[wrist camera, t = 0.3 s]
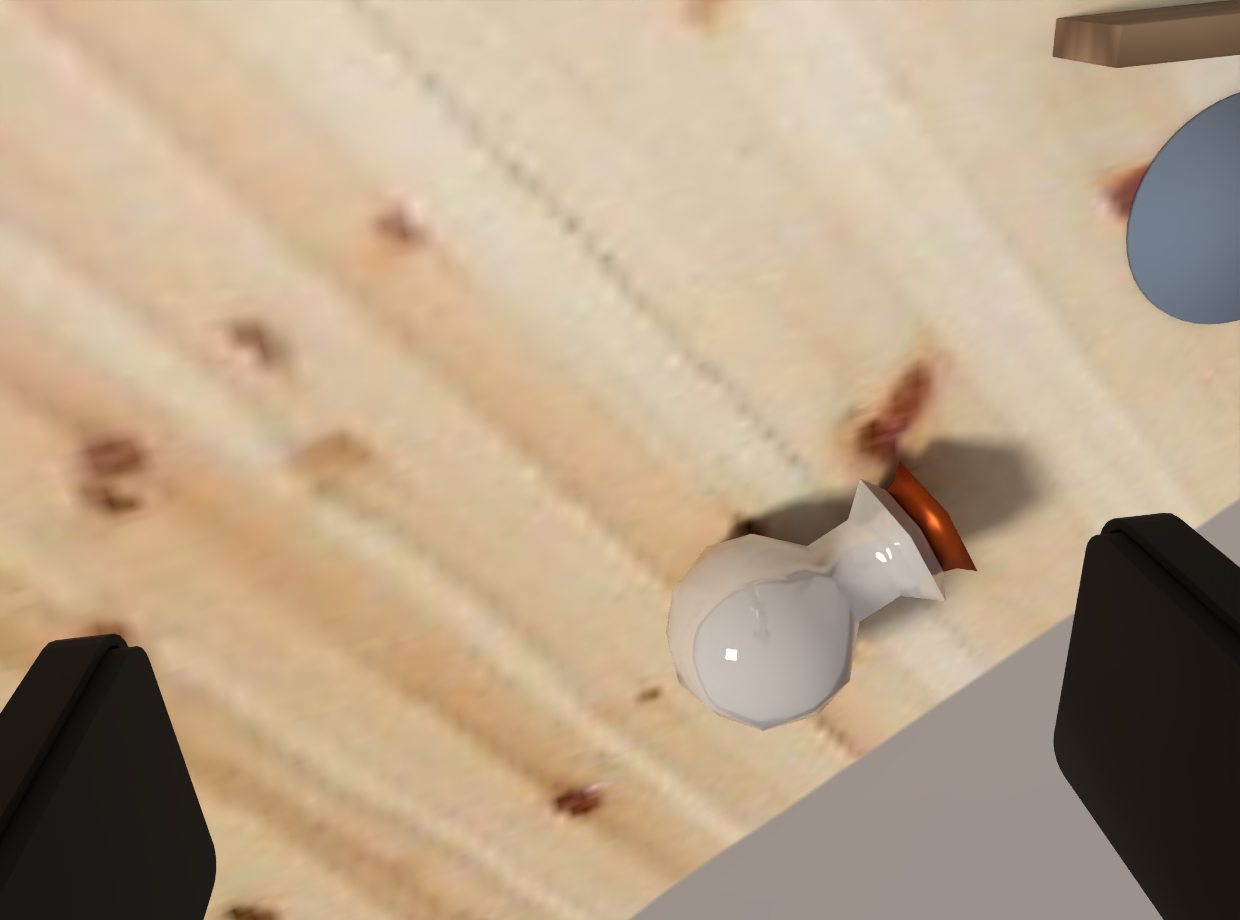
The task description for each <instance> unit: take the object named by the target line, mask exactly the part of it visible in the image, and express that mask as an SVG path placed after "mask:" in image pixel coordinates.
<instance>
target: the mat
mask: <svg viewBox="0 0 1240 920" xmlns="http://www.w3.org/2000/svg"><path fill="white" fill-rule="evenodd" d="M1126 243H1127V256H1128V261H1129V266H1130V269H1131V272H1132V275H1133V277H1134V280H1135V281H1136V283H1137V285H1138V287H1139V289H1140V290H1141V292H1142V293H1143V294H1144V295H1145V297H1146V298H1147V299H1148V300H1149V301H1150V302H1151V303H1152V304H1154V305H1155V306H1156V307H1157V308H1159V309H1160V310H1162V311H1164V312H1165V313H1167V314H1169V315H1171V316H1173V317H1175V318H1178V319H1180V320H1183V321H1188V322H1192V323H1199V324H1221V323H1227V322H1232V321H1237V320H1240V93H1238V94H1235V95H1232V96H1230V97H1227V98H1225V99H1223V100H1221V101H1218V102H1216V103H1215V104H1213V105H1211V106H1210V107H1208V108H1206V109H1205V110H1203V111H1201V112H1200V113H1199V114H1197V115H1196V116H1195V117H1193V118H1192V119H1191V120H1189V121H1188V122H1187V123H1186V124H1185V125H1184V126H1183V127H1181V128H1180V129H1179V130H1178V131H1177V132H1176V133H1175V134H1174V135H1173V136H1172V137H1171V138H1170V139H1169V141H1168V142H1167V143H1166V144H1165V145H1164V146H1163V147H1162V149H1161V150H1160V151H1159V153H1158V154H1157V155H1156V157H1155V158H1154V160H1153V161H1152V162H1151V164H1150V166H1149V168H1148V169H1147V171H1146V173H1145V174H1144V176H1143V178H1142V180H1141V182H1140V185H1139V187H1138V189H1137V191H1136V194H1135V197H1134V200H1133V203H1132V206H1131V209H1130V214H1129V219H1128V224H1127V236H1126Z"/></svg>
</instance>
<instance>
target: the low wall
mask: <svg viewBox="0 0 1240 920" xmlns="http://www.w3.org/2000/svg"><path fill="white" fill-rule="evenodd" d="M1232 55H1240V0H1230V1H1221V2H1211V3H1202V4H1192V5H1183V6H1173V7H1164V8H1154V9H1145V10H1135V11H1126V12H1116V13H1107V14H1097V15H1088V16H1078V17H1069V18H1059V19H1057V20H1056V30H1055V39H1054V49H1053V57H1057V58H1063V59H1069V60H1074V61H1080V62H1085V63H1091V64H1097V65H1102V66H1108V67H1114V68H1121V67H1130V66H1140V65H1149V64H1158V63H1167V62H1176V61H1186V60H1195V59H1204V58H1213V57H1222V56H1232Z"/></svg>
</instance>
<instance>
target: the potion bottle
mask: <svg viewBox="0 0 1240 920" xmlns="http://www.w3.org/2000/svg"><path fill="white" fill-rule="evenodd" d="M956 568H960V569H967V570H974V571H977V569H976V568H975V566H974V564H973V562H972V560H971V558H970V556H969V554H968V552H967V550H966V548H965V546H964V544H963V542H962V540H961V538H960V536H959V534H958V533H957V531H956V529H955V527H954V525H953V523H952V521H951V519H950V517H949V515H948V513H947V512H946V511H945V510H944V509H943V507H942V506H941V505H940V504H939V503H938V502H937V501H936V500H935V499H934V498H933V497H932V496H931V495H930V494H929V492H928V491H927V490H926V489H925V488H924V487H923V486H922V485H921V484H920V483H919V482H918V481H917V480H916V479H915V478H914V476H913V475H912V474H911V473H910V472H909V471H908V470H907V469H906V468H905V467H904V466H903V465H902V464H901V463H899V467H898V470H897V474H896V478H895V480H894V482H893V483H892V484H891V485H890V487H889V488H888V489H887V490H884V489H882V488H880V487H878V486H875V485H873V484H871V483H868V482H866V481H864V480H862V479H860V482H859V485H858V488H857V491H856V495H855V498H854V501H853V505H852V508H851V511H850V515H849V518H848V520H847V521H845V522H844V523H842V524H840V525H839V526H837V527H836V528H834V529H833V530H831V531H830V532H828V533H827V534H825V535H824V536H822V537H821V538H819V539H817V540H816V541H814V542H813V543H811V544H810V545H808V546H806V545H801V544H796V543H792V542H787V541H783V540H778V539H774V538H769V537H764V536H760V535H755V534H749V535H745V536H742V537H739V538H735V539H732V540H728V541H725V542H721V543H718V544H715V545H711V546H708V547H706V549H705V550H704V551H703V552H702V554H701V555H700V556H699V557H698V559H697V560H696V561H695V563H694V564H693V565H692V566H691V568H690V569H689V570H688V571H687V573H686V574H685V575H684V576H683V578H682V579H681V580H680V582H679V583H678V584H677V585H676V587H675V588H674V589H673V590H672V597H671V603H670V609H669V616H668V622H667V628H666V635H667V639H668V643H669V647H670V650H671V654H672V658H673V662H674V666H675V670H676V673H677V677H678V681H679V684H681V685H682V686H683V687H684V688H685V689H686V690H688V691H689V692H690V693H691V694H692V695H693V696H694V697H696V698H697V699H698V700H699V701H700V702H701V703H703V704H704V705H705V706H706V707H707V708H709V709H710V710H712V711H713V712H714V713H716V714H717V715H719V716H721V717H724V718H727V719H730V720H732V721H735V722H738V723H741V724H744V725H747V726H750V727H753V728H756V729H759V730H761V731H765V730H769V729H772V728H776V727H779V726H783V725H786V724H790V723H793V722H797V721H800V720H804V719H807V718H811V717H814V716H818V715H819V714H820V713H821V712H822V710H823V709H824V708H825V707H826V706H827V705H828V704H829V703H830V702H831V701H832V700H833V699H834V697H835V696H836V695H837V694H838V693H839V692H840V691H841V690H842V689H843V688H844V687H845V685H846V684H847V683H848V682H849V681H850V676H851V670H852V664H853V658H854V652H855V646H856V640H857V634H858V628H859V622H861V621H862V620H864V619H865V618H867V617H868V616H870V615H871V614H873V613H875V612H876V611H878V610H879V609H881V608H882V607H884V606H885V605H887V604H889V603H890V602H892V601H893V600H895V599H896V598H898V597H899V596H907V597H915V598H923V599H931V600H939V601H946V596H945V581H944V571H948V570H952V569H956Z"/></svg>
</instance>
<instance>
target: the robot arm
mask: <svg viewBox="0 0 1240 920" xmlns="http://www.w3.org/2000/svg"><path fill="white" fill-rule="evenodd" d="M1054 751H1055V755H1056V759H1057V762H1058V765H1059V767H1060V769H1061V771H1062V773H1063V775H1064V776H1065V778H1066V779H1067V781H1068V782H1069V783H1070V785H1071V786H1072V788H1073V789H1074V791H1075V792H1076V794H1077V795H1078V796H1079V798H1080V799H1081V801H1082V802H1083V804H1084V805H1085V806H1086V808H1087V810H1088V811H1089V812H1090V814H1091V815H1092V817H1093V818H1094V820H1095V821H1096V823H1097V824H1098V825H1099V827H1100V828H1101V830H1102V831H1103V833H1104V834H1105V835H1106V837H1107V838H1108V840H1109V841H1110V843H1111V844H1112V846H1113V847H1114V849H1115V850H1116V851H1117V853H1118V854H1119V855H1120V857H1121V859H1122V860H1123V862H1124V863H1125V865H1126V866H1127V867H1128V869H1129V870H1130V872H1131V873H1132V875H1133V876H1134V878H1135V879H1136V880H1137V882H1138V883H1139V885H1140V886H1141V888H1142V889H1143V891H1144V892H1145V893H1146V895H1147V896H1148V898H1149V899H1150V901H1151V902H1152V904H1153V905H1154V906H1155V908H1156V909H1157V911H1158V912H1159V914H1160V915H1161V916H1162V918H1163V919H1164V920H1240V567H1238V566H1237V565H1236V564H1235V563H1234V562H1232V561H1231V560H1230V559H1229V558H1228V557H1226V556H1225V555H1224V554H1223V553H1222V552H1220V551H1219V550H1218V549H1217V548H1216V547H1214V546H1213V545H1212V544H1210V543H1209V542H1208V541H1207V540H1206V539H1204V538H1203V537H1202V536H1201V535H1200V534H1198V533H1197V532H1196V531H1195V530H1194V529H1192V528H1191V527H1190V526H1189V525H1188V524H1186V523H1185V522H1184V521H1183V520H1181V519H1180V518H1179V517H1177V516H1175V515H1173V514H1171V513H1159V514H1150V515H1141V516H1133V517H1124V518H1115V519H1112V520H1110V521H1108V522H1107V523H1106V524H1105V526H1104V527H1103V528H1102V531H1101V534H1100V535H1095V536H1093V537H1092V538H1091V539H1090V540H1089V542H1088V544H1087V547H1086V551H1085V557H1084V563H1083V569H1082V575H1081V581H1080V586H1079V592H1078V598H1077V604H1076V610H1075V615H1074V621H1073V627H1072V633H1071V639H1070V644H1069V650H1068V656H1067V662H1066V668H1065V674H1064V679H1063V685H1062V691H1061V697H1060V703H1059V709H1058V714H1057V720H1056V726H1055V732H1054ZM215 876H216V855H215V849H214V845H213V842H212V839H211V836H210V833H209V830H208V827H207V824H206V821H205V819H204V816H203V813H202V810H201V807H200V804H199V801H198V798H197V796H196V793H195V790H194V787H193V784H192V781H191V778H190V776H189V773H188V770H187V767H186V764H185V761H184V758H183V755H182V753H181V750H180V747H179V744H178V741H177V738H176V735H175V732H174V730H173V727H172V724H171V721H170V718H169V715H168V712H167V709H166V707H165V704H164V701H163V698H162V695H161V692H160V689H159V686H158V684H157V681H156V678H155V675H154V672H153V669H152V666H151V663H150V661H149V658H148V656H147V654H146V652H145V651H144V650H143V649H142V648H141V647H138V646H135V647H128V645H127V643H126V642H125V640H124V639H123V638H122V637H121V636H120V635H117V634H106V635H98V636H89V637H80V638H71V639H63V640H55V641H53V642H50V643H48V644H47V645H46V647H45V648H44V649H43V650H42V651H41V653H40V654H39V656H38V657H37V659H36V660H35V662H34V663H33V665H32V666H31V668H30V669H29V671H28V672H27V674H26V675H25V677H24V679H23V680H22V682H21V683H20V685H19V686H18V688H17V689H16V691H15V692H14V694H13V695H12V697H11V698H10V700H9V701H8V703H7V704H6V706H5V707H4V709H3V710H2V712H1V713H0V920H204V916H205V913H206V910H207V907H208V903H209V900H210V897H211V894H212V890H213V887H214V882H215Z"/></svg>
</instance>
